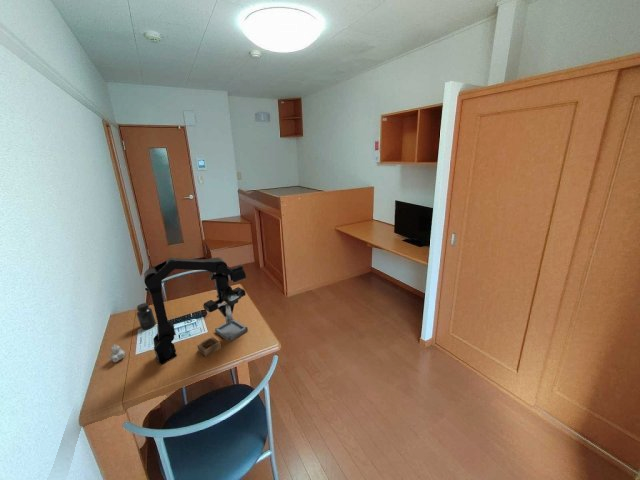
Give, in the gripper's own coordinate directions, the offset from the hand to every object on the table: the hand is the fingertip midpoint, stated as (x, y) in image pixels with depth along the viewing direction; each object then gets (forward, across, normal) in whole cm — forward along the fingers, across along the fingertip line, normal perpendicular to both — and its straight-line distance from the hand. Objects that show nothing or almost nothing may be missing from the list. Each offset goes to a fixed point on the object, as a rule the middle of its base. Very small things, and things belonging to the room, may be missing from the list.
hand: (228, 314), depth 130 cm
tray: (+9, 0, 0) cm, 9 cm away
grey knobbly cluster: (+10, -40, +24) cm, 48 cm away
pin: (+4, 0, 0) cm, 4 cm away
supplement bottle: (+10, -23, +40) cm, 47 cm away
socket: (+9, -13, -3) cm, 16 cm away
